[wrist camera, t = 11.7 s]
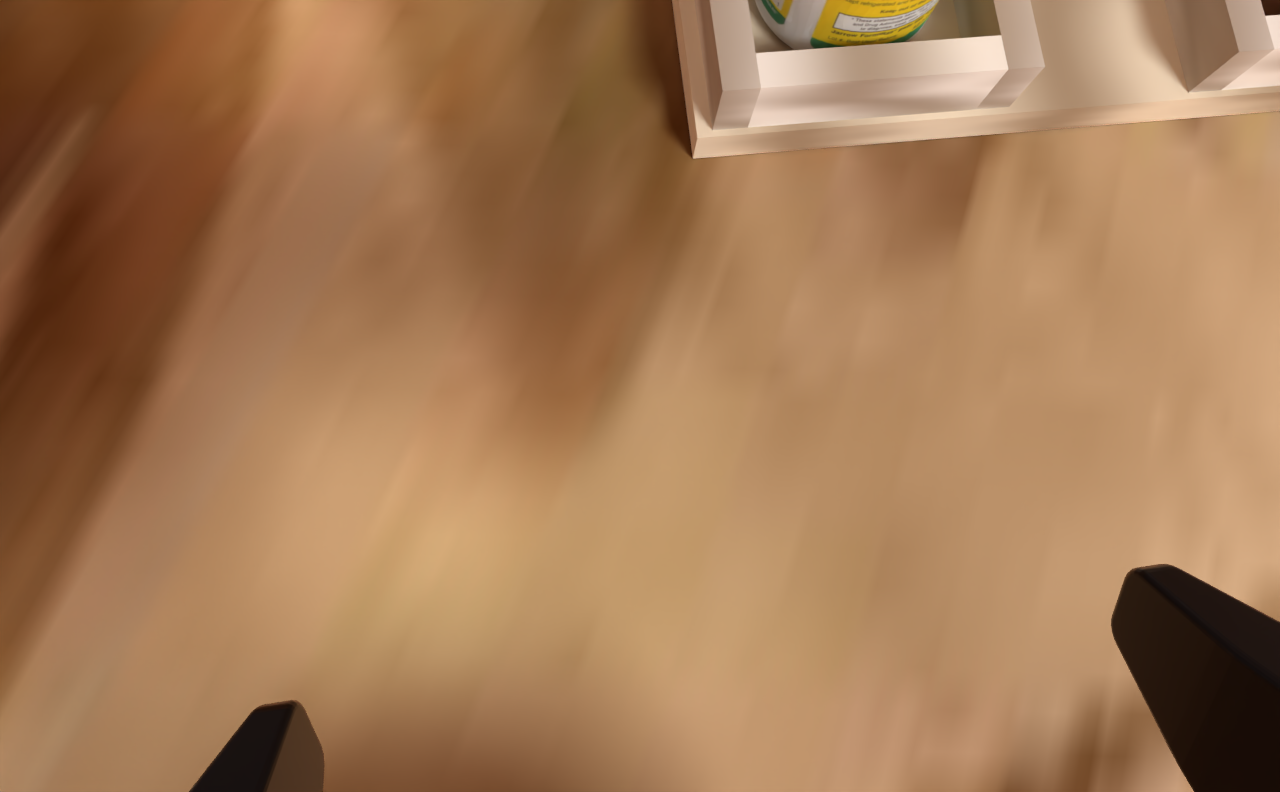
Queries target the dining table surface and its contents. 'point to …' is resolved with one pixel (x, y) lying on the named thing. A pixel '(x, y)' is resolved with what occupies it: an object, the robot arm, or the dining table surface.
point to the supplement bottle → (844, 21)
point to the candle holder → (974, 72)
